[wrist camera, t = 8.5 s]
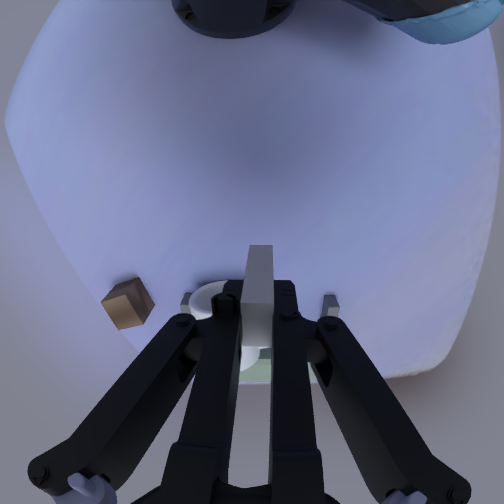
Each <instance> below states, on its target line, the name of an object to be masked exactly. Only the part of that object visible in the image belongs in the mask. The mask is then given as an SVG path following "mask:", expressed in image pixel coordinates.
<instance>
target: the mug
mask: <svg viewBox="0 0 504 504" xmlns="http://www.w3.org/2000/svg"><path fill="white" fill-rule="evenodd" d="M227 281H228V280H223V281H216V282H212V283H209V284H206V285H204V286H202V287H200V288H199V289H197V290H196V291H195V292H194V293H193V294H192V295H191V297H190V299H189V306H190V310H191V314H192V315H193V316H194V317H195V318H196V320H199V319H205V318H208V317H211V316H212V306H211V298H212V297H213V296H214V295H216V294H218V293H221V292H222V290H223V286H224V284H225V283H226V282H227ZM263 348H269V347H250V346H242V357H241V366H240V371H243V370H246V369H248V368H249V367H251V366H252V365H253V364H254V363H255V362H256V361H257V360H258V358H259V356H260V349H263Z"/></svg>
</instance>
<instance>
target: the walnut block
mask: <svg viewBox="0 0 504 504" xmlns="http://www.w3.org/2000/svg"><path fill="white" fill-rule="evenodd" d="M101 304H102V306H103V307H104V309H105V310H106V312H107V314H108V315H109V317H110V318H111V320H112V321H113V323H114V324H115V326H116V327H117V329H118V330H121V329H125V328H130V327H134V326H139V325H143V324H144V323H145V321H146V319H147V318H148V316H149V314H150V313H151V311H152V309H153V308H154V306H155V304H154V302H153V301H152V299H151V297H150V296H149V294H148V292H147V290H146V289H145V287H144V285H143V283H142V281H141V280H140V278H139V277H138V278H135V279H133V280H130V281H127V282H124V283H121V284H118V285H115V286H114V288H113V289H112V290H111V291H110V292H109V293H108V294H107V295H106V297H105V298H104V299H103V300H102V301H101Z"/></svg>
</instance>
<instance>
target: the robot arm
mask: <svg viewBox="0 0 504 504" xmlns="http://www.w3.org/2000/svg"><path fill="white" fill-rule="evenodd" d="M171 1H172V5H173V8H174V10H175V12H176V14H177V15H178V16H179V18H180V19H181V20H182V21H183V23H184V24H185V25H187V26H188V27H189V28H191V29H192V30H194V31H196V32H198V33H200V34H203V35H206V36H210V37H215V38H228V39H230V38H243V37H249V36H253V35H257V34H260V33H263V32H265V31H267V30H270V29H272V28H273V27H275V26H277V25H278V24H280V23H281V22H282V21H283V20H285V19H286V18H287V16H288V15H289V14H290V13H291V11H292V10H293V8H294V5H295V2H296V0H171ZM342 1H344V2H347V3H349V4H351V5H353V6H355V7H357V8H359V9H361V10H363V11H365V12H367V13H369V14H371V15H373V16H374V17H375V18H376V19H377V20H379V21H380V22H382V23H385V24H388V25H392V26H394V27H396V28H398V29H399V30H401V31H403V32H405V33H406V34H408V35H410V36H411V37H413V38H415V39H417V40H419V41H421V42H424V43H428V44H442V45H444V44H451V43H456V42H459V41H462V40H465V39H468V38H470V37H472V36H474V35H476V34H478V33H479V32H481V31H483V30H484V29H486V28H487V27H488V26H489V25H491V24H492V23H493V22H494V21H495V20H496V19H497V18H498V16H499V15H500V14H501V12H502V11H503V8H502V6H501V5H502V4H504V0H342ZM211 306H212V316H211V317H208V318H205V319H199V320H196V318H195V317H194V316H193V315H191V314H189V313H180V314H176V315H174V316H173V317H171V318H170V319H169V320H168V322H167V323H166V324H165V325H164V326H163V327H162V328H161V330H160V331H159V332H158V333H157V334H156V335H155V337H154V338H153V339H152V340H151V341H150V342H149V343H148V345H147V346H146V347H145V348H144V349H143V350H142V352H141V353H140V354H139V355H138V356H137V357H136V359H135V360H134V361H133V362H132V363H131V364H130V366H129V367H128V368H127V369H126V370H125V372H124V373H123V374H122V375H121V376H120V377H119V379H118V380H117V381H116V382H115V383H114V385H113V386H112V387H111V388H110V390H108V392H107V393H106V394H105V395H104V397H103V398H102V399H101V400H100V401H99V402H98V404H97V405H96V406H95V407H94V409H93V410H92V411H91V412H90V413H89V415H88V416H87V417H86V418H85V420H84V421H83V422H82V423H81V424H80V425H79V427H78V428H77V429H76V431H75V432H74V433H73V434H72V435H71V436H70V438H68V439H67V440H65V441H64V442H62V443H60V444H58V445H57V446H55V447H53V448H52V449H50V450H48V451H46V452H45V453H43V454H41V455H39V456H38V457H36V458H34V459H33V460H32V461H31V462H30V464H29V466H28V476H29V479H30V481H31V482H32V483H33V484H34V485H35V486H37V487H38V488H39V489H41V490H43V491H44V492H46V493H48V494H49V495H51V496H52V498H53V499H54V501H55V502H56V504H117V496H116V492H115V491H116V490H118V489H119V488H120V487H121V486H122V485H123V484H124V483H125V482H126V481H127V480H128V478H129V477H130V476H131V474H132V473H133V471H134V470H135V468H136V467H137V465H138V464H139V462H140V461H141V459H142V457H143V456H144V454H145V453H146V451H147V450H148V448H149V447H150V445H151V443H152V442H153V440H154V439H155V437H156V436H157V434H158V432H159V431H160V429H161V428H162V426H163V424H164V423H165V421H166V420H167V418H168V417H169V415H170V413H171V412H172V410H173V409H174V407H175V406H176V404H177V402H178V401H179V399H180V397H181V396H182V394H183V393H184V391H185V389H186V388H187V386H188V385H189V383H190V382H191V380H192V378H193V377H194V375H195V378H194V382H193V386H192V389H191V393H190V397H189V400H188V404H187V408H186V412H185V416H184V420H183V424H182V428H181V432H180V435H179V439H178V441H177V442H175V443H173V444H172V446H171V448H170V451H169V455H168V458H167V462H166V466H165V470H164V474H163V478H162V482H161V485H160V486H158V487H156V488H155V489H153V490H151V491H150V492H148V493H147V494H145V495H144V496H142V497H140V498H139V499H137V500H136V501H134V502H132V503H131V504H340V503H339V502H338V501H337V500H335V499H334V498H333V497H331V496H330V495H328V494H326V493H324V481H323V467H322V458H321V453H320V450H319V449H317V445H316V435H315V423H314V415H313V404H312V395H311V386H310V377H309V369H308V362H310V366H311V368H312V370H313V372H314V374H315V376H316V378H317V381H318V383H319V385H320V387H321V389H322V391H323V393H324V395H325V398H326V400H327V402H328V404H329V406H330V408H331V410H332V412H333V415H334V417H335V419H336V421H337V423H338V425H339V427H340V429H341V432H342V434H343V436H344V438H345V440H346V442H347V444H348V446H349V449H350V451H351V453H352V455H353V457H354V459H355V461H356V464H357V466H358V468H359V470H360V472H361V474H362V477H363V479H364V481H365V483H366V485H367V487H368V489H369V491H370V492H371V494H372V495H373V497H374V498H375V499H376V501H377V502H378V503H379V504H467V503H468V501H469V499H470V497H471V486H470V484H469V483H468V481H467V480H466V479H464V478H463V477H462V476H460V475H459V474H457V473H456V472H455V471H453V470H452V469H451V468H449V467H448V466H447V465H445V464H444V463H443V462H441V461H440V460H438V459H437V458H436V457H435V456H433V455H432V453H431V452H430V450H429V449H428V447H427V445H426V444H425V442H424V441H423V439H422V437H421V436H420V434H419V433H418V431H417V430H416V428H415V426H414V425H413V423H412V422H411V420H410V418H409V417H408V416H407V414H406V412H405V411H404V409H403V408H402V406H401V405H400V403H399V402H398V400H397V398H396V397H395V396H394V394H393V392H392V391H391V389H390V388H389V387H388V385H387V383H386V382H385V380H384V379H383V377H382V376H381V375H380V373H379V372H378V370H377V369H376V367H375V366H374V364H373V363H372V361H371V360H370V358H369V357H368V356H367V354H366V353H365V351H364V350H363V348H362V347H361V346H360V344H359V343H358V341H357V340H356V338H355V337H354V336H353V334H352V333H351V331H350V330H349V328H348V327H347V326H346V324H345V323H344V322H343V321H342V320H341V319H340V318H338V317H335V316H324V317H321V318H320V319H319V320H318V321H317V322H315V321H310V320H307V319H305V318H303V317H302V316H301V314H300V312H299V311H298V305H297V298H296V291H295V285H294V284H293V283H292V282H291V281H290V280H273V245H250V246H249V253H248V259H247V265H246V271H245V277H244V280H228V281H227V282H226V283H225V284H224V286H223V290H222V292H221V293H218V294H216V295H214V296H213V297H212V298H211ZM242 346H250V347H272V349H271V407H270V446H269V474H268V484H267V485H262V486H257V487H250V488H239V487H236V486H233V485H229V484H228V468H229V459H230V450H231V442H232V433H233V425H234V417H235V408H236V400H237V391H238V383H239V374H240V366H241V357H242ZM195 373H196V374H195Z"/></svg>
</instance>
